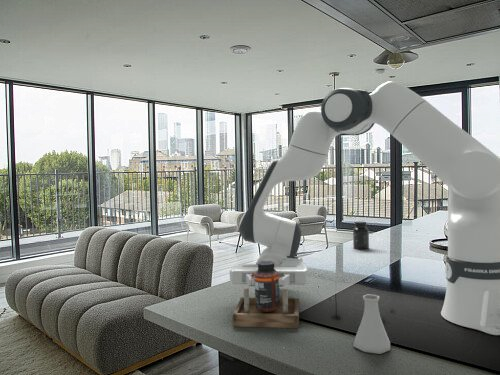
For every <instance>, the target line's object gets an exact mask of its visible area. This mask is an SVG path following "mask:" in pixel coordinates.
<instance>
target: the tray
mask: <svg viewBox="0 0 500 375" xmlns="http://www.w3.org/2000/svg"><path fill="white" fill-rule="evenodd" d="M281 290H282V292H281V293H282V294H281V295H282V296H281V297H280V308H279V309H278V310H276V311H272V312H262V311H259V310H257V309H256V303H255V297H250V288H249V287H243V296H242V297H240V299H239V301H238V304H237V306H236V307H235V309H234V311H233V312H232V327H241V328H242V327H245V328H247V327H248V328H250V327H251V328H280V329H281V328H282V329H283V328H284V329H285V328H286V329H287V328H288V329H290V328H291V329H300V328H299V327H300V299H299V298H296V297H295V298H294V297H291V298H290V297H288V296H289V294H288V288H286V287H283V288H282V287H281Z"/></svg>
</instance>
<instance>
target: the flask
mask: <svg viewBox="0 0 500 375" xmlns="http://www.w3.org/2000/svg"><path fill="white" fill-rule="evenodd" d="M362 300H363V302H364V307H363V308H364V309H363V314H362V315H363V316H362V317H361V322H360V324H359V327H358V330H357V332H356V335H355V338H354V342H353V346H352V347H353V348H356V349H358V350H359V351H362V352H364V353H369V354H379V355H381V354H384V353H386V352H389V351H391V341H390V339H389V337H388V334H387V331H386V329H385V326H384V323H383V320H382V318H381V315H380V309H379V301H380V295H377V294H371V293H370V294H369V293H367V294H363V296H362Z"/></svg>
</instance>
